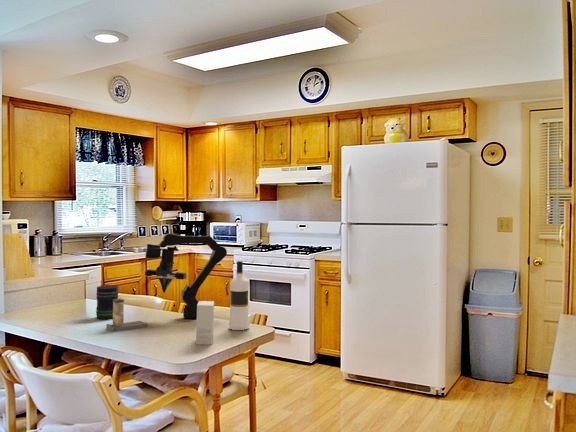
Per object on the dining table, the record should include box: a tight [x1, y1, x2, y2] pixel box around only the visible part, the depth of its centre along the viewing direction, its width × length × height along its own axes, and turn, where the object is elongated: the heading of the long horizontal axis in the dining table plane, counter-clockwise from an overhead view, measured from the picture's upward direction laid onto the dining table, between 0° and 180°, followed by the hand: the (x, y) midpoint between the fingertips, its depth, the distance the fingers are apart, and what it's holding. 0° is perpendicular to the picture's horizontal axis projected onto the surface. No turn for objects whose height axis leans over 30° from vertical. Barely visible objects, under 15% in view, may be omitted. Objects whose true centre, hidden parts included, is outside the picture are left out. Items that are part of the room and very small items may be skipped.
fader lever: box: [112, 298, 125, 326], centre depth 213 cm, size 3×4×11 cm
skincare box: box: [195, 300, 215, 346], centre depth 194 cm, size 8×7×16 cm
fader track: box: [105, 320, 148, 333], centre depth 216 cm, size 16×7×2 cm, turn 133°
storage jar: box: [95, 285, 119, 321], centre depth 236 cm, size 10×10×15 cm
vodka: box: [228, 260, 250, 331], centre depth 217 cm, size 9×9×30 cm
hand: (164, 292), depth 234 cm, fingers closed
